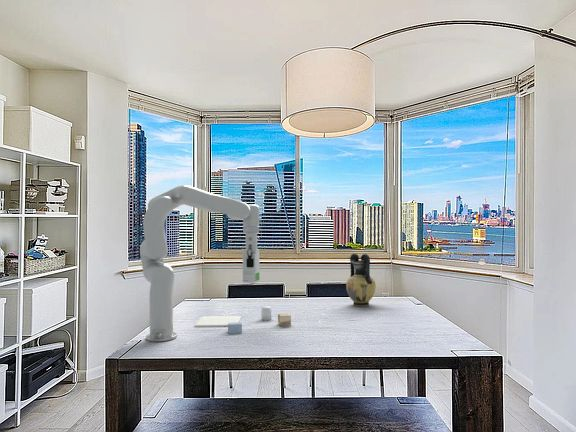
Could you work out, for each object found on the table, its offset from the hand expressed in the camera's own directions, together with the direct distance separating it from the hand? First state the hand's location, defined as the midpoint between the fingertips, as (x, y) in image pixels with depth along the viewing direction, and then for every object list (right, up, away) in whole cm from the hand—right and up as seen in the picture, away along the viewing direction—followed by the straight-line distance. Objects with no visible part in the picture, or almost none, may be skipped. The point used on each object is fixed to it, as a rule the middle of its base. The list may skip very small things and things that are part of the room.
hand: (251, 266), depth 211 cm
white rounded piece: (+7, -28, +11) cm, 31 cm away
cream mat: (-16, -28, +6) cm, 33 cm away
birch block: (+16, -28, -2) cm, 32 cm away
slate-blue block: (-6, -28, -15) cm, 32 cm away
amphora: (+60, -28, +48) cm, 82 cm away
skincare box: (0, -8, 0) cm, 8 cm away
